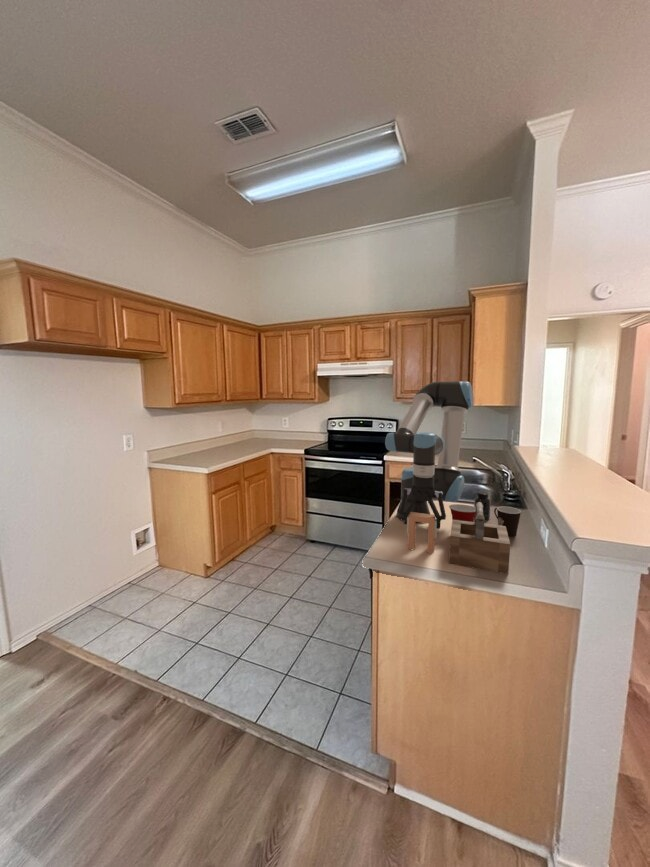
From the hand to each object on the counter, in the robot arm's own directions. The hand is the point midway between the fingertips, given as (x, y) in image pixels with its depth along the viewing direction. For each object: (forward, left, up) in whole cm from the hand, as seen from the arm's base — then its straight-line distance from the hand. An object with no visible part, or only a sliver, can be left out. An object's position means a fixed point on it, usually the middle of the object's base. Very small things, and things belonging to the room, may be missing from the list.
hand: (421, 534), depth 131 cm
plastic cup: (+5, +23, -6) cm, 24 cm away
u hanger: (0, 0, -5) cm, 5 cm away
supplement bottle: (+2, +48, -6) cm, 48 cm away
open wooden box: (+18, +8, -5) cm, 20 cm away
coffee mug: (+16, +39, -6) cm, 43 cm away
